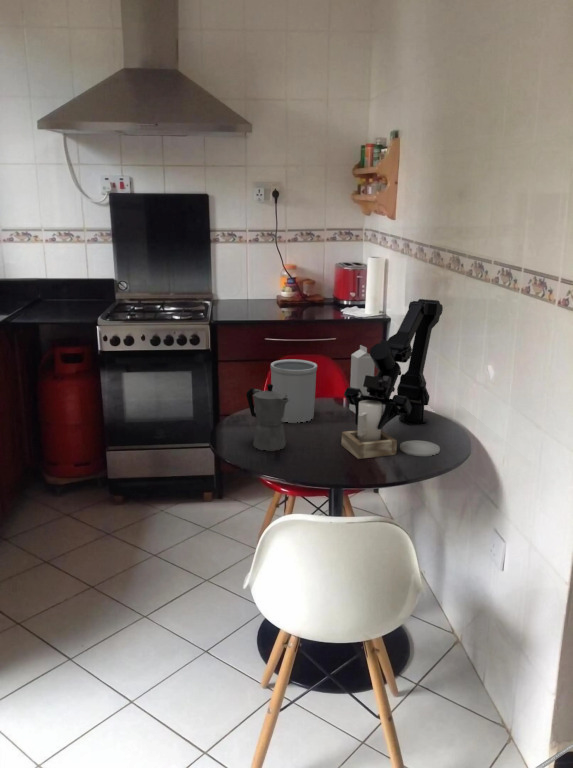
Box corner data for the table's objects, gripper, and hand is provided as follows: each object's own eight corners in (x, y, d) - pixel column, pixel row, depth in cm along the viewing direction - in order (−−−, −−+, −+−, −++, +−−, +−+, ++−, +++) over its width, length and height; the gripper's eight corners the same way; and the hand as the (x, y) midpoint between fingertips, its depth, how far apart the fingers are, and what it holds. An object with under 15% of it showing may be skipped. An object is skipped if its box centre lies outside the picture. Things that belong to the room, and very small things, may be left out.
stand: (377, 441, 194) (378, 428, 193) (396, 454, 184) (396, 440, 183) (341, 445, 191) (341, 431, 190) (358, 458, 180) (358, 444, 179)
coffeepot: (298, 447, 189) (299, 385, 184) (275, 455, 182) (276, 391, 177) (258, 435, 198) (258, 376, 194) (235, 442, 191) (235, 381, 187)
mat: (426, 441, 195) (427, 438, 195) (447, 454, 185) (447, 451, 185) (392, 445, 191) (393, 442, 191) (412, 458, 181) (412, 455, 181)
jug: (363, 442, 192) (365, 398, 188) (383, 446, 188) (386, 402, 185) (348, 452, 184) (349, 406, 181) (369, 456, 181) (371, 410, 177)
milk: (355, 414, 220) (357, 348, 215) (349, 409, 226) (351, 345, 220) (372, 413, 222) (375, 347, 216) (365, 407, 227) (368, 344, 222)
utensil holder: (325, 417, 216) (326, 364, 212) (293, 427, 206) (294, 371, 202) (292, 407, 226) (293, 357, 222) (260, 416, 216) (260, 363, 212)
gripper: (348, 359, 189) (328, 406, 183) (410, 368, 180) (391, 417, 173) (359, 380, 198) (340, 426, 192) (419, 390, 188) (401, 438, 182)
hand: (367, 426), depth 184 cm, fingers closed on jug, 6 cm apart
